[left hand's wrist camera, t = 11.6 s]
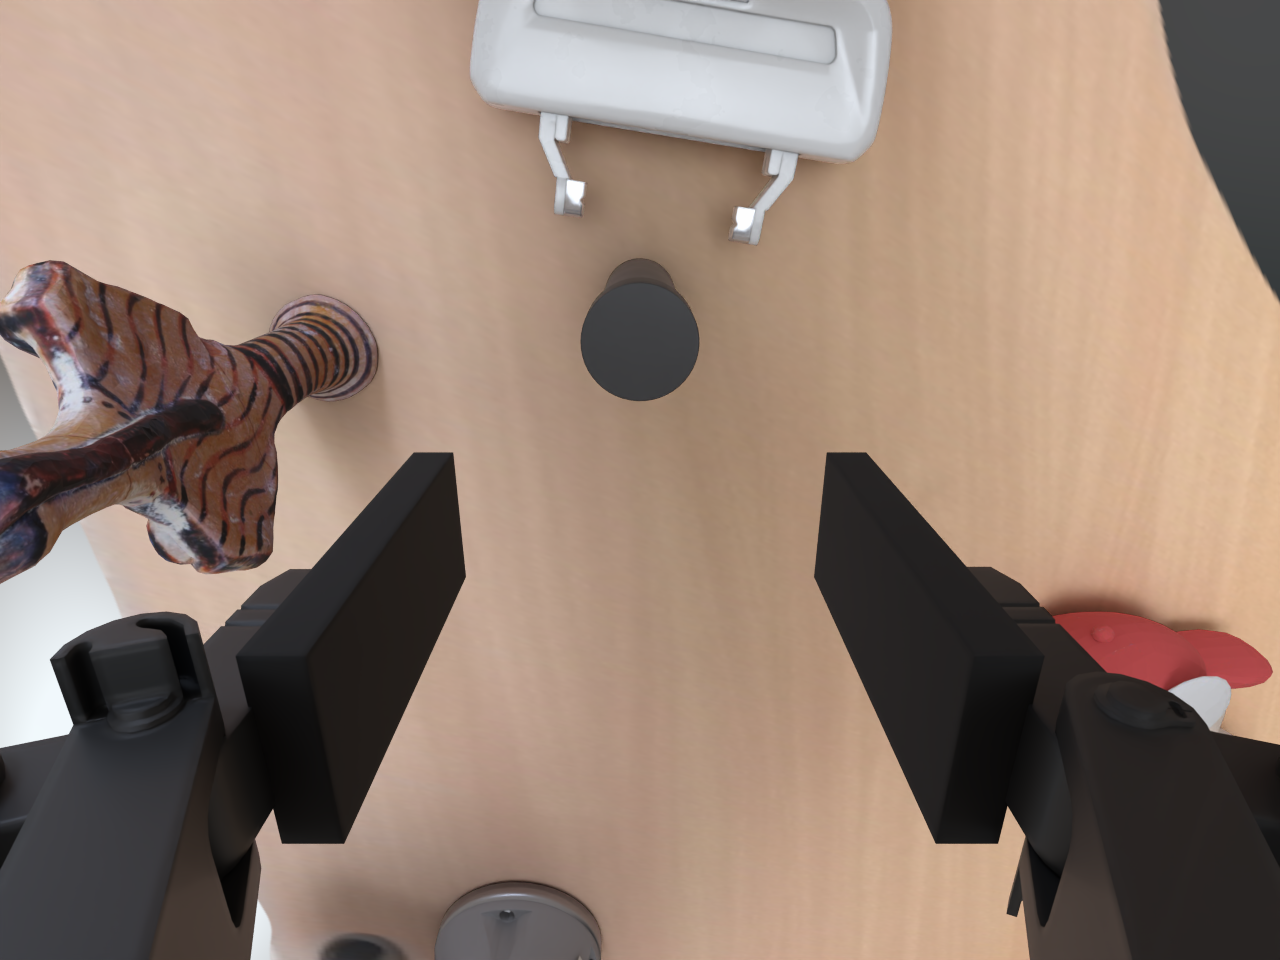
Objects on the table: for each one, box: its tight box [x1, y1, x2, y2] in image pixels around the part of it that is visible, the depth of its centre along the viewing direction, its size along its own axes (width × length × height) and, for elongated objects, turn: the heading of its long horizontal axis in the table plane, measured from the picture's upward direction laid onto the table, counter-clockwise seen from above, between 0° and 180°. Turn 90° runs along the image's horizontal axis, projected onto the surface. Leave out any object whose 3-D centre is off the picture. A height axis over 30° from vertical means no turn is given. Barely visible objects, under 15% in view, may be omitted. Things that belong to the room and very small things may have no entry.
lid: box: [581, 277, 699, 401], centre depth 32 cm, size 5×5×2 cm
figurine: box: [0, 260, 377, 584], centre depth 33 cm, size 15×8×30 cm, turn 29°
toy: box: [1052, 612, 1273, 735], centre depth 55 cm, size 18×10×30 cm
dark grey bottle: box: [605, 259, 675, 289], centre depth 38 cm, size 4×4×16 cm
